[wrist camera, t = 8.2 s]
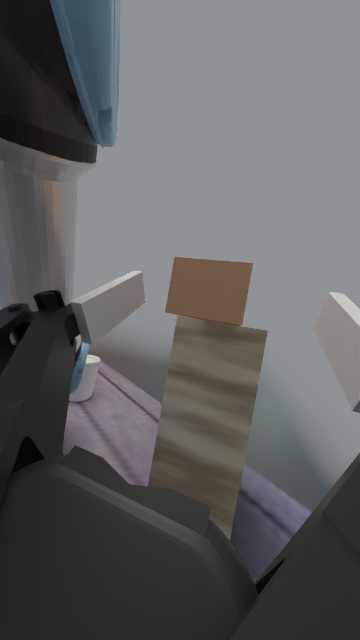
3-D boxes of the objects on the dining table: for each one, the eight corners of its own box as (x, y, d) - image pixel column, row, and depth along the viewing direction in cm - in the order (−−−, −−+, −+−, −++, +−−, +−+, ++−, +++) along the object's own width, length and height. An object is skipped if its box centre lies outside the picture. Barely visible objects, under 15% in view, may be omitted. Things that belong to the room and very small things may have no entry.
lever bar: (241, 325, 9) (253, 263, 9) (165, 312, 10) (174, 257, 10) (236, 326, 38) (239, 311, 38) (216, 322, 39) (219, 308, 39)
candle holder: (62, 405, 53) (68, 363, 53) (57, 391, 60) (63, 354, 60) (98, 400, 59) (104, 362, 59) (90, 387, 67) (95, 354, 67)
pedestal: (218, 607, 20) (267, 330, 20) (135, 558, 23) (177, 315, 23) (225, 478, 38) (252, 328, 37) (178, 459, 40) (202, 320, 40)
